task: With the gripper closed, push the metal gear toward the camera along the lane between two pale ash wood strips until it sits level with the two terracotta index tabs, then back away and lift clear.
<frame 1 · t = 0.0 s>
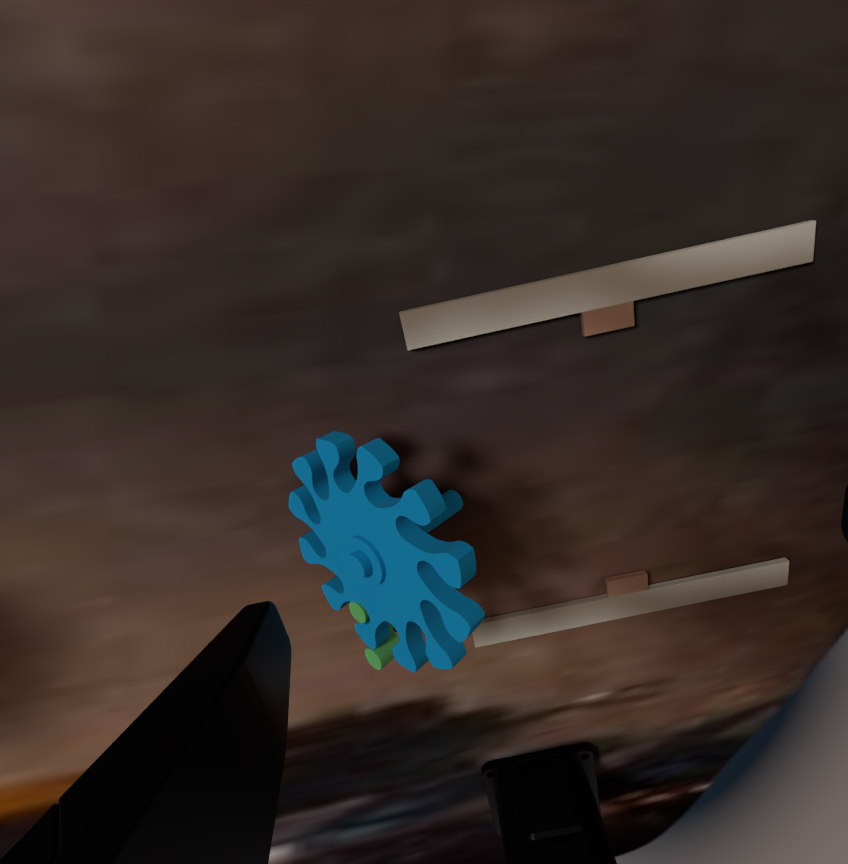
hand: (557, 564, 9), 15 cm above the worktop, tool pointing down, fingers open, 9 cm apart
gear: (378, 510, 25), on the worktop
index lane: (616, 464, 25), on the worktop
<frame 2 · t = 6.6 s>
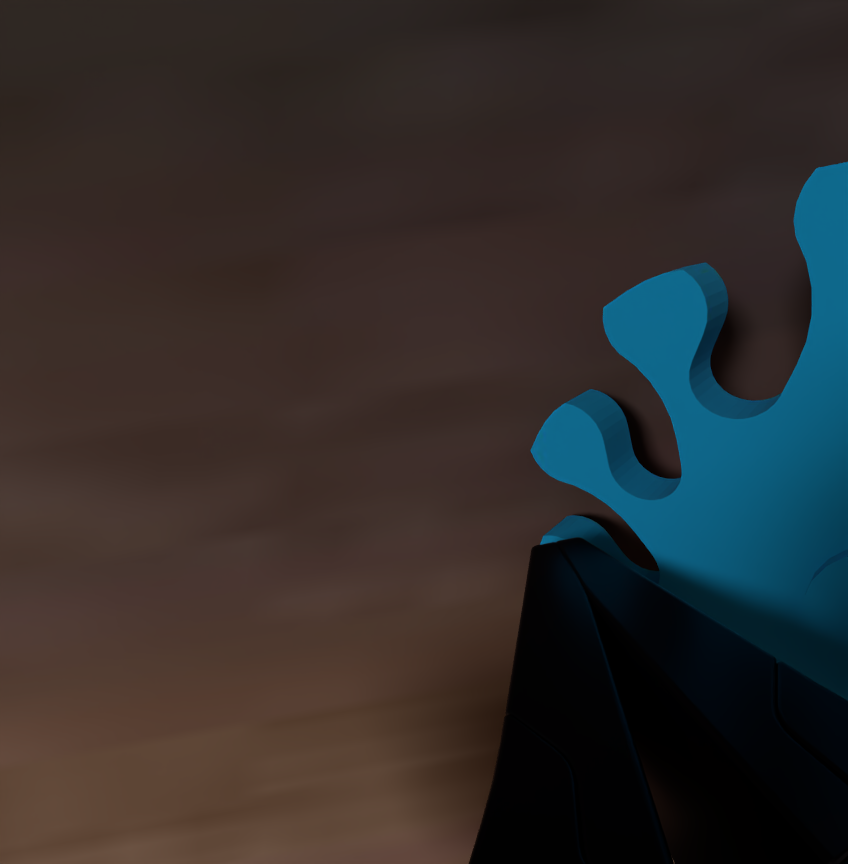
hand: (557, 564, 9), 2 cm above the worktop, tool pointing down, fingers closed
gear: (721, 478, 10), on the worktop, touching gripper
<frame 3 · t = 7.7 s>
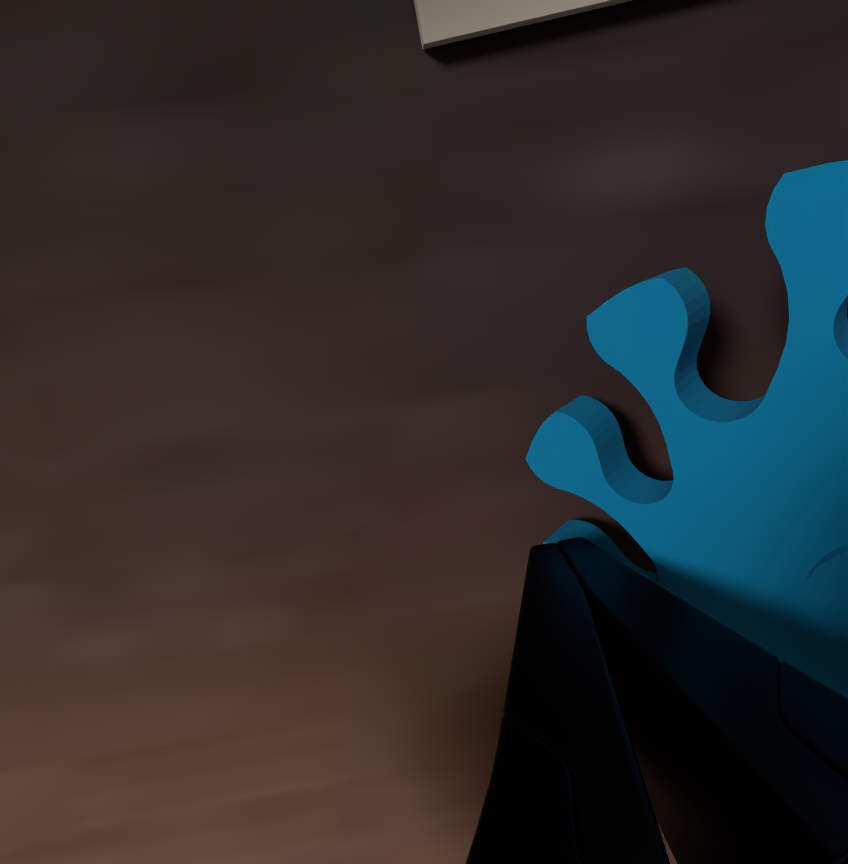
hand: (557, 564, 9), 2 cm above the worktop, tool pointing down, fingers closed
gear: (720, 475, 10), on the worktop, touching gripper
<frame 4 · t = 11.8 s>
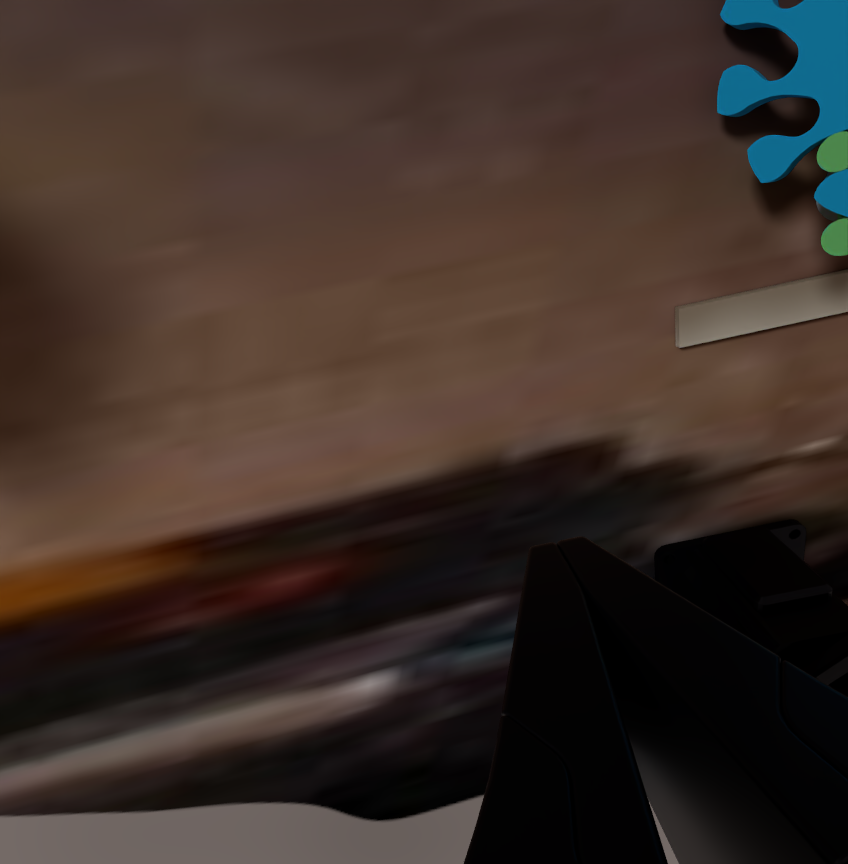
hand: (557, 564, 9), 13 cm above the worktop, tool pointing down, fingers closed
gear: (816, 61, 18), on the worktop
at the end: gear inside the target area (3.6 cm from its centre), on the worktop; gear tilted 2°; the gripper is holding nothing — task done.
